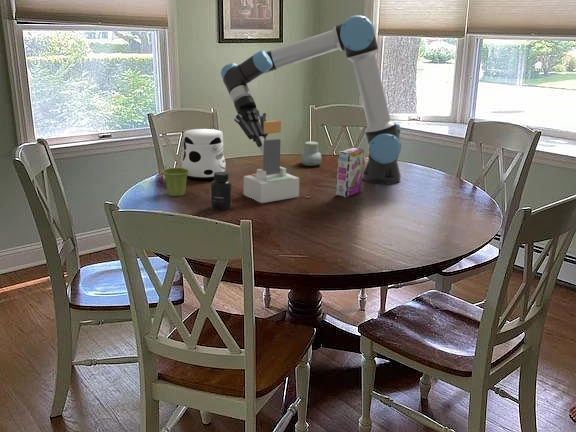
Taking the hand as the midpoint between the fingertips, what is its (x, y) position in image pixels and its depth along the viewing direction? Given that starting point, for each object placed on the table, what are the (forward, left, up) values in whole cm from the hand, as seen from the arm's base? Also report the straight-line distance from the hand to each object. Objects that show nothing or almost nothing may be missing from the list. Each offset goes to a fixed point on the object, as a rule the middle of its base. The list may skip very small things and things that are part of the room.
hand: (266, 153), depth 213 cm
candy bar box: (-25, -18, -15) cm, 34 cm away
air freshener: (+9, -51, -15) cm, 54 cm away
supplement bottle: (+3, +23, -15) cm, 28 cm away
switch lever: (-3, +1, -7) cm, 7 cm away
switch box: (-3, +1, -15) cm, 15 cm away
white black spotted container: (+34, -7, -15) cm, 38 cm away
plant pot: (+26, +19, -15) cm, 36 cm away
